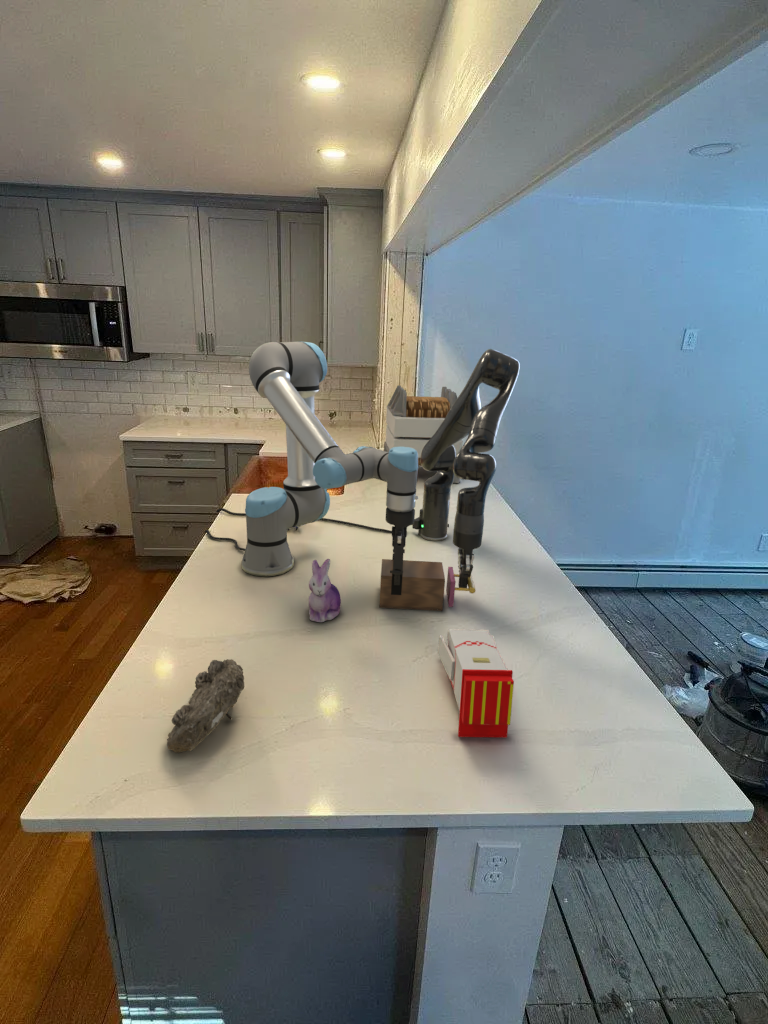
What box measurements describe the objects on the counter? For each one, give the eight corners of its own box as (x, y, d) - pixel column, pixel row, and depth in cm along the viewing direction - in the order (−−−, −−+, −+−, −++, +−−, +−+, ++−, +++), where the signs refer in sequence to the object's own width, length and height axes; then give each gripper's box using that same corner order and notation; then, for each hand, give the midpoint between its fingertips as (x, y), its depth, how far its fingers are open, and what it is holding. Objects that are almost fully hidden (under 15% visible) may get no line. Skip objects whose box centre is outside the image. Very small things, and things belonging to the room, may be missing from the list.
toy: (488, 613, 130) (523, 677, 101) (484, 667, 133) (517, 744, 104) (435, 612, 130) (455, 676, 101) (432, 666, 133) (451, 743, 103)
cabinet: (439, 592, 160) (442, 562, 157) (442, 611, 150) (445, 578, 147) (380, 589, 160) (382, 558, 157) (379, 607, 150) (380, 575, 147)
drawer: (469, 592, 159) (472, 567, 156) (473, 608, 150) (476, 583, 148) (395, 588, 159) (396, 563, 156) (395, 604, 150) (396, 578, 148)
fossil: (192, 660, 117) (244, 628, 112) (224, 691, 120) (276, 661, 115) (142, 746, 98) (202, 712, 93) (182, 779, 101) (242, 748, 96)
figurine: (314, 627, 139) (314, 572, 134) (300, 608, 148) (299, 555, 143) (349, 619, 143) (350, 565, 138) (333, 601, 152) (334, 550, 147)
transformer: (382, 463, 289) (386, 382, 275) (445, 464, 293) (451, 384, 279) (390, 482, 257) (394, 392, 243) (460, 483, 261) (468, 394, 247)
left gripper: (416, 524, 135) (410, 606, 143) (414, 494, 157) (409, 567, 164) (384, 522, 135) (381, 604, 143) (387, 493, 157) (383, 565, 164)
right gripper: (486, 538, 141) (479, 600, 147) (479, 519, 154) (473, 577, 159) (456, 536, 141) (450, 598, 147) (451, 518, 154) (446, 576, 159)
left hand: (396, 584), depth 154 cm, fingers closed on cabinet, 10 cm apart
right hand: (462, 587), depth 153 cm, fingers closed
